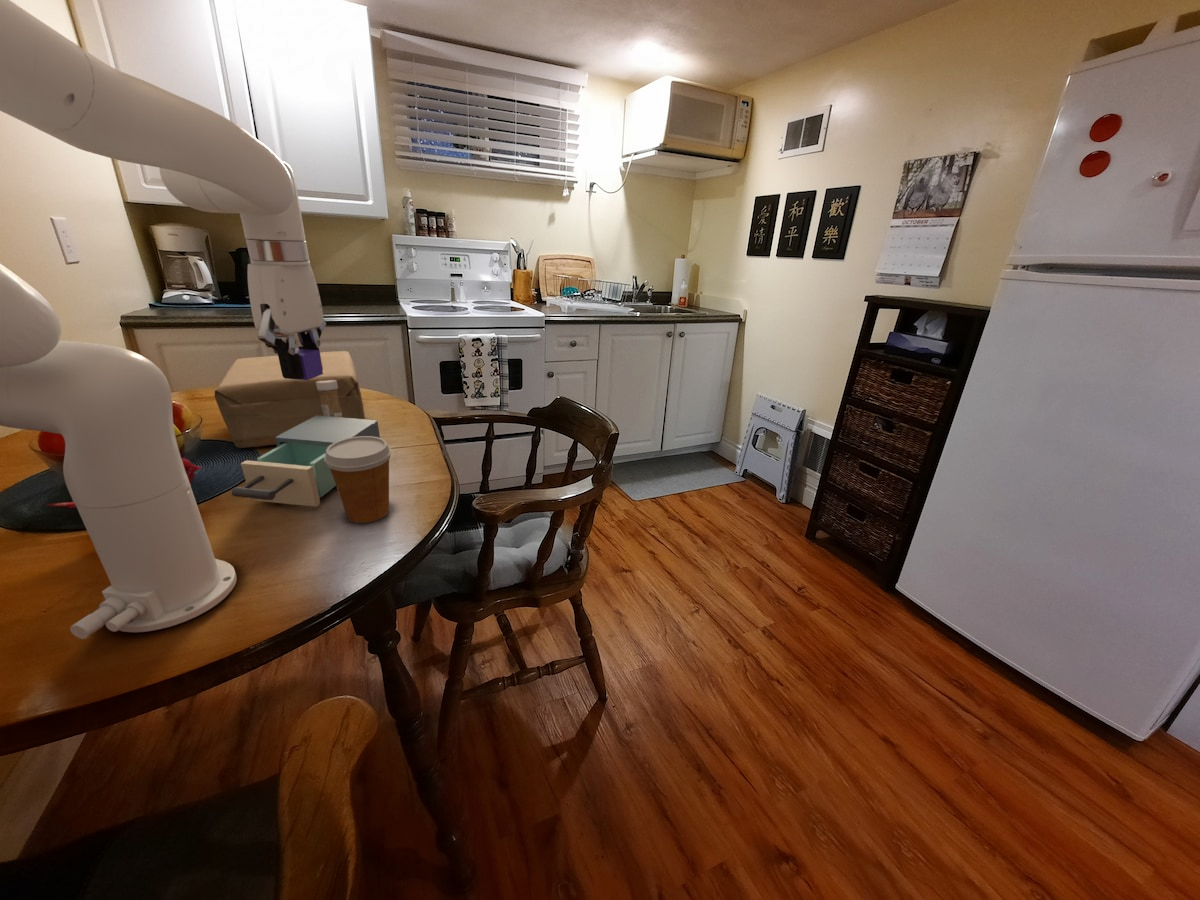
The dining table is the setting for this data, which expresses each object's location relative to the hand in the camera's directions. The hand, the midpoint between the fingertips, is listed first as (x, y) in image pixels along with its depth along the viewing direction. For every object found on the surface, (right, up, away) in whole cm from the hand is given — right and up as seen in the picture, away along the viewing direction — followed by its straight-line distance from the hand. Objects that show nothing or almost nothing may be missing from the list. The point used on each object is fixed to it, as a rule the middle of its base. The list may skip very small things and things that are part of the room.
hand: (303, 373), depth 80 cm
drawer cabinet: (-2, -16, +15) cm, 22 cm away
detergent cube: (0, 0, 0) cm, 0 cm away
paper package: (-21, -7, +35) cm, 41 cm away
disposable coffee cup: (+10, -23, +1) cm, 25 cm away
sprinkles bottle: (-9, -10, +28) cm, 31 cm away
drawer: (-4, -20, +3) cm, 21 cm away
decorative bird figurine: (-21, -24, -5) cm, 33 cm away
